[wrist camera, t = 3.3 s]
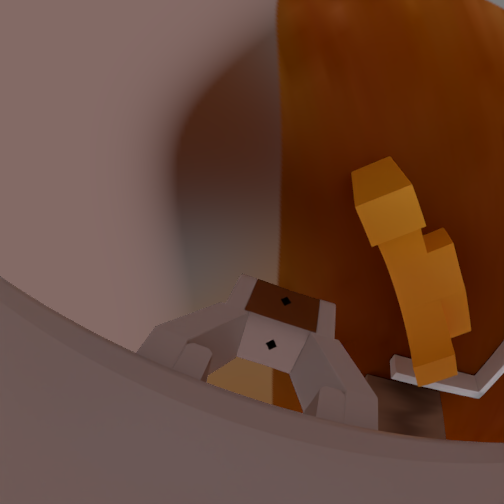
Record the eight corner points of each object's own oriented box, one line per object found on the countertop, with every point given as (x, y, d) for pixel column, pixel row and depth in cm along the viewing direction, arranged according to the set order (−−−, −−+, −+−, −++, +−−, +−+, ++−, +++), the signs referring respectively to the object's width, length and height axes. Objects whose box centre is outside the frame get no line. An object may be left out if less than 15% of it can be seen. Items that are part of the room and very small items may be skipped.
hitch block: (439, 392, 24) (448, 475, 16) (422, 409, 25) (426, 489, 17) (367, 374, 25) (363, 466, 17) (352, 393, 26) (343, 480, 18)
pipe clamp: (459, 302, 20) (483, 365, 14) (407, 320, 21) (418, 387, 16) (415, 145, 16) (449, 169, 11) (350, 171, 18) (355, 207, 12)
